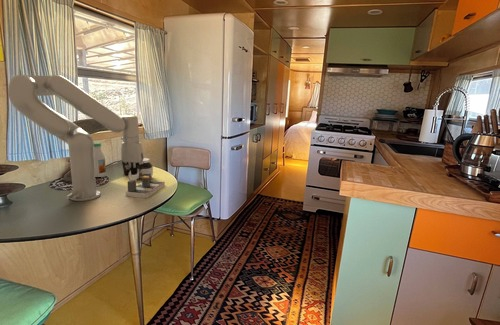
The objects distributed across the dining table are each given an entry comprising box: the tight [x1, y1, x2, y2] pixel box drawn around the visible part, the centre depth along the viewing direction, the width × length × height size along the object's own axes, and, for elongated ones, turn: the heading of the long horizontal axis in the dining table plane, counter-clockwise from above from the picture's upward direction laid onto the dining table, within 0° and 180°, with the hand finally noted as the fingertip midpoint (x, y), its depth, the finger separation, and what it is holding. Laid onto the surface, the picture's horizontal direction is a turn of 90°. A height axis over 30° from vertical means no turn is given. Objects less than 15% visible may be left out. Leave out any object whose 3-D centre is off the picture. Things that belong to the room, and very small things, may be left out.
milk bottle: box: [94, 142, 107, 178], centre depth 158 cm, size 8×8×20 cm
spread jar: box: [128, 157, 154, 181], centre depth 159 cm, size 12×11×12 cm
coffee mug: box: [121, 160, 130, 176], centre depth 167 cm, size 12×9×10 cm
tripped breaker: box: [141, 176, 150, 187], centre depth 141 cm, size 3×3×5 cm
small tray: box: [125, 172, 165, 199], centre depth 141 cm, size 20×11×7 cm, turn 172°
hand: (134, 174), depth 142 cm, fingers closed
